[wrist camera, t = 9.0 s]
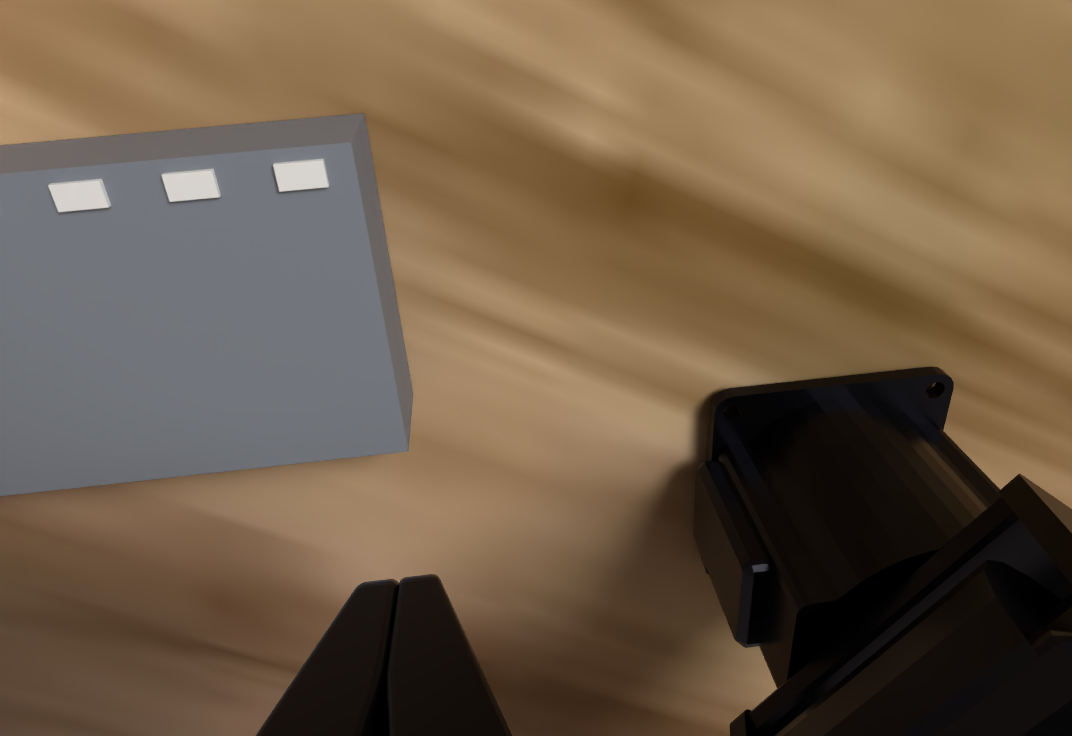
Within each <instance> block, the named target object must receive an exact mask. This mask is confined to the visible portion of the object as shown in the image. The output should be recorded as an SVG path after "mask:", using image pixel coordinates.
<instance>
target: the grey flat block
mask: <svg viewBox="0 0 1072 736" xmlns="http://www.w3.org/2000/svg"><path fill="white" fill-rule="evenodd" d="M412 401H413V390H412V385H411V379H410V373H409V367H408V362H407V356H406V350H405V344H404V339H403V333H402V327H401V321H400V315H399V310H398V304H397V298H396V292H395V287H394V281H393V275H392V269H391V264H390V258H389V252H388V246H387V241H386V235H385V229H384V223H383V217H382V212H381V206H380V200H379V194H378V189H377V183H376V177H375V171H374V166H373V160H372V154H371V148H370V143H369V137H368V131H367V125H366V119H365V114H364V113H361V114H350V115H339V116H327V117H316V118H305V119H294V120H282V121H271V122H260V123H248V124H237V125H226V126H214V127H203V128H192V129H180V130H169V131H158V132H146V133H135V134H124V135H113V136H101V137H90V138H79V139H67V140H56V141H45V142H33V143H22V144H11V145H0V496H7V495H17V494H26V493H35V492H44V491H53V490H62V489H71V488H80V487H89V486H98V485H107V484H117V483H126V482H135V481H144V480H153V479H162V478H171V477H180V476H189V475H198V474H207V473H216V472H226V471H235V470H244V469H253V468H262V467H271V466H280V465H289V464H298V463H307V462H316V461H325V460H335V459H344V458H353V457H362V456H371V455H380V454H389V453H398V452H407V451H409V438H410V426H411V413H412Z"/></svg>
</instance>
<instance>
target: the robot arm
mask: <svg viewBox="0 0 1072 736" xmlns="http://www.w3.org/2000/svg"><path fill="white" fill-rule="evenodd" d="M933 383H936V384H935V386H934V387H932V388H931V389H929V390H927V388H928V387H929V386H930V385H931V384H933ZM953 383H954V382H953V381H952V379H951V377H950V376H949V375H947V374H946V373H945V372H944V371H943V370H942V369H940V368H938V367H923V368H914V369H905V370H896V371H886V372H877V373H868V374H859V375H849V376H840V377H831V378H822V379H812V380H803V381H794V382H785V383H775V384H766V385H757V386H748V387H739V388H729V389H726V390H722V391H721V392H719V393H718V394H716V395H715V396H714V398H713V399H712V401H711V404H710V413H709V431H708V448H707V461H703V462H702V463H701V465H700V466H699V467H698V469H697V470H696V488H695V508H694V529H693V534H694V538H695V541H696V543H697V546H698V548H699V551H700V553H701V559H702V563H703V566H704V568H705V571H706V573H707V574H708V575H709V576H710V579H711V581H712V584H713V586H714V589H715V591H716V594H717V596H718V599H719V601H720V604H721V606H722V609H723V611H724V614H725V616H726V619H727V621H728V624H729V626H730V629H731V632H732V634H733V637H734V639H735V640H736V641H737V642H738V643H739V644H741V645H742V646H743V647H745V648H747V647H755V646H759V647H760V649H761V651H762V654H763V656H764V659H765V661H766V663H767V666H768V668H769V670H770V673H771V675H772V677H773V680H774V682H775V684H776V687H777V689H776V690H775V691H774V692H773V693H772V694H771V695H769V696H768V697H767V698H766V699H765V700H764V701H762V702H761V703H760V704H759V705H758V706H757V707H755V708H754V709H753V710H752V711H751V710H745V711H744V712H743V713H742V714H741V715H739V716H738V717H737V718H736V719H735V720H734V721H732V722H731V723H730V736H1072V509H1071V508H1069V507H1068V506H1066V505H1065V504H1063V503H1062V502H1061V501H1059V500H1058V499H1056V498H1055V497H1053V496H1052V495H1050V494H1049V493H1047V492H1046V491H1044V490H1043V489H1042V488H1040V487H1039V486H1037V485H1036V484H1034V483H1033V482H1031V481H1030V480H1028V479H1027V478H1026V477H1024V476H1023V475H1021V474H1018V475H1017V476H1016V477H1015V478H1014V479H1013V480H1011V481H1010V482H1009V483H1008V484H1007V485H1006V486H1004V487H1003V488H1002V489H1001V490H1000V489H999V488H998V487H997V486H996V485H995V484H994V483H993V482H992V481H991V480H990V479H989V478H988V477H987V475H986V474H985V473H984V472H983V471H982V470H981V469H980V468H979V467H978V466H977V465H976V464H975V463H974V462H973V461H972V460H971V459H970V458H969V457H968V456H967V455H966V454H965V453H964V452H963V451H962V450H961V449H960V448H959V447H958V446H957V445H956V444H955V443H954V441H953V440H952V439H951V438H950V437H949V436H948V435H947V434H946V433H945V432H944V431H943V429H944V425H945V421H946V417H947V413H948V408H949V404H950V400H951V396H952V392H953ZM733 404H736V405H737V407H736V408H735V409H734V410H733V411H730V412H724V410H725V409H726V408H727V407H728V406H730V405H733ZM256 736H512V734H511V732H510V730H509V728H508V725H507V723H506V721H505V719H504V717H503V715H502V712H501V710H500V708H499V706H498V704H497V702H496V699H495V697H494V695H493V693H492V691H491V689H490V686H489V684H488V682H487V680H486V678H485V676H484V673H483V671H482V669H481V667H480V665H479V663H478V660H477V658H476V656H475V654H474V652H473V650H472V647H471V645H470V643H469V641H468V639H467V637H466V634H465V632H464V630H463V628H462V626H461V624H460V621H459V619H458V617H457V615H456V613H455V611H454V608H453V606H452V604H451V602H450V600H449V597H448V595H447V593H446V591H445V589H444V587H443V584H442V582H441V580H440V578H439V577H438V576H437V575H435V574H430V575H421V576H413V577H405V578H403V579H402V580H401V581H400V583H398V581H396V580H394V579H387V580H379V581H371V582H364V583H361V584H360V585H358V586H357V587H356V589H355V590H354V591H353V593H352V594H351V596H350V597H349V599H348V600H347V602H346V603H345V605H344V606H343V608H342V609H341V611H340V612H339V614H338V615H337V617H336V618H335V620H334V621H333V622H332V624H331V625H330V627H329V628H328V630H327V631H326V633H325V634H324V636H323V637H322V639H321V640H320V642H319V643H318V645H317V646H316V648H315V649H314V651H313V652H312V653H311V655H310V656H309V658H308V659H307V661H306V662H305V664H304V665H303V667H302V668H301V670H300V671H299V673H298V674H297V676H296V677H295V679H294V680H293V682H292V683H291V684H290V686H289V687H288V689H287V690H286V692H285V693H284V695H283V696H282V698H281V699H280V701H279V702H278V704H277V705H276V707H275V708H274V710H273V711H272V713H271V714H270V715H269V717H268V718H267V720H266V721H265V723H264V724H263V726H262V727H261V729H260V730H259V732H258V733H257V735H256Z"/></svg>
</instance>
